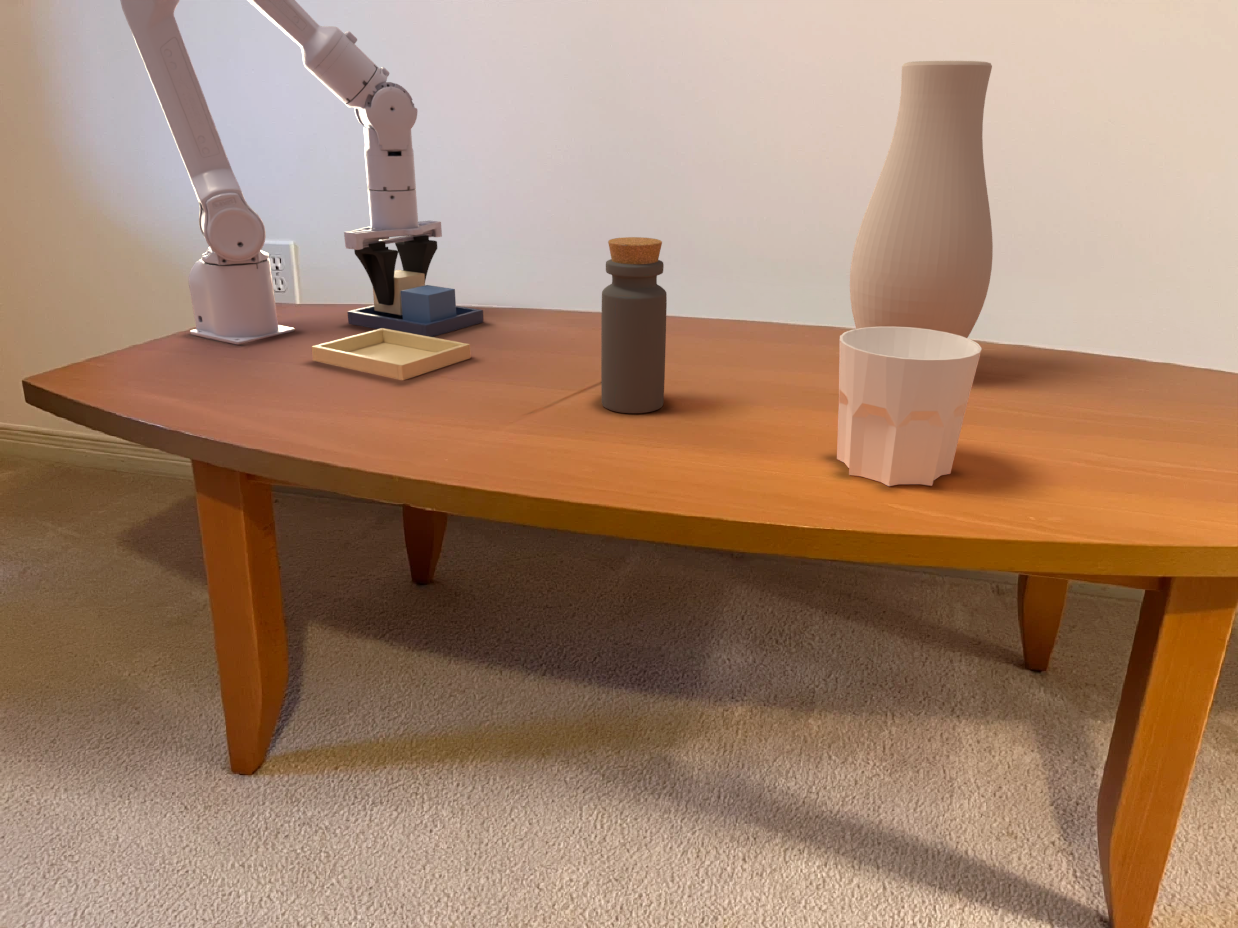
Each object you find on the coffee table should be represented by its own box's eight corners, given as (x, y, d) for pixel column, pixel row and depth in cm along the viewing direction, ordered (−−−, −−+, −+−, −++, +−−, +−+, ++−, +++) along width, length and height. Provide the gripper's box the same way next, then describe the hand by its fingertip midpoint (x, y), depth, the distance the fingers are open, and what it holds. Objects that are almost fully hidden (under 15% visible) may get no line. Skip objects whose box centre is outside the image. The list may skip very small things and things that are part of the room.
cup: (848, 492, 65) (863, 360, 61) (813, 444, 74) (824, 326, 71) (982, 491, 66) (1005, 359, 62) (931, 443, 75) (948, 326, 71)
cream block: (374, 310, 114) (371, 274, 112) (400, 305, 117) (398, 269, 116) (400, 315, 111) (398, 277, 110) (426, 309, 115) (424, 273, 113)
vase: (995, 387, 90) (1052, 59, 79) (859, 386, 90) (897, 58, 79) (946, 352, 103) (989, 66, 92) (827, 351, 103) (855, 64, 91)
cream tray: (313, 363, 96) (311, 346, 95) (383, 343, 104) (382, 327, 103) (403, 383, 89) (401, 365, 89) (471, 361, 97) (470, 343, 97)
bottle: (671, 398, 86) (676, 237, 80) (653, 417, 80) (657, 246, 75) (613, 392, 87) (614, 234, 82) (592, 409, 82) (591, 242, 77)
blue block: (403, 328, 109) (400, 290, 108) (429, 321, 113) (427, 284, 111) (431, 333, 107) (428, 295, 105) (457, 326, 111) (455, 288, 109)
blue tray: (348, 326, 112) (347, 311, 111) (407, 311, 120) (406, 297, 119) (427, 341, 105) (426, 325, 104) (483, 324, 113) (483, 309, 112)
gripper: (370, 195, 101) (380, 314, 106) (457, 187, 113) (462, 295, 118) (327, 191, 105) (339, 307, 110) (415, 184, 116) (422, 289, 121)
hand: (400, 300), depth 114 cm, fingers closed on cream block, 4 cm apart
